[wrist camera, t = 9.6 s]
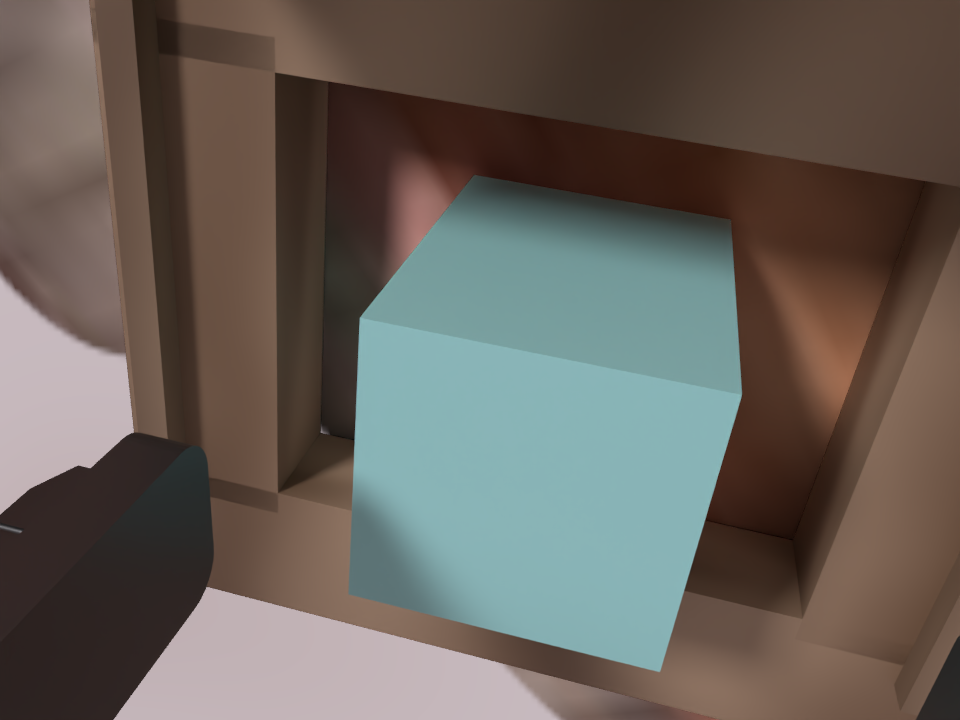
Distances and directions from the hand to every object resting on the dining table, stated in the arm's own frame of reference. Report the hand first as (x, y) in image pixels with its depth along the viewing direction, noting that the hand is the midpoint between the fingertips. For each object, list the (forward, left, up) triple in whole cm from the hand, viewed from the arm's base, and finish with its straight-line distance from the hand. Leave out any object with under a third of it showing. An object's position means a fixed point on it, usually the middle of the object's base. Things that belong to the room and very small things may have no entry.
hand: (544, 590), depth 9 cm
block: (-1, 0, -8) cm, 8 cm away
